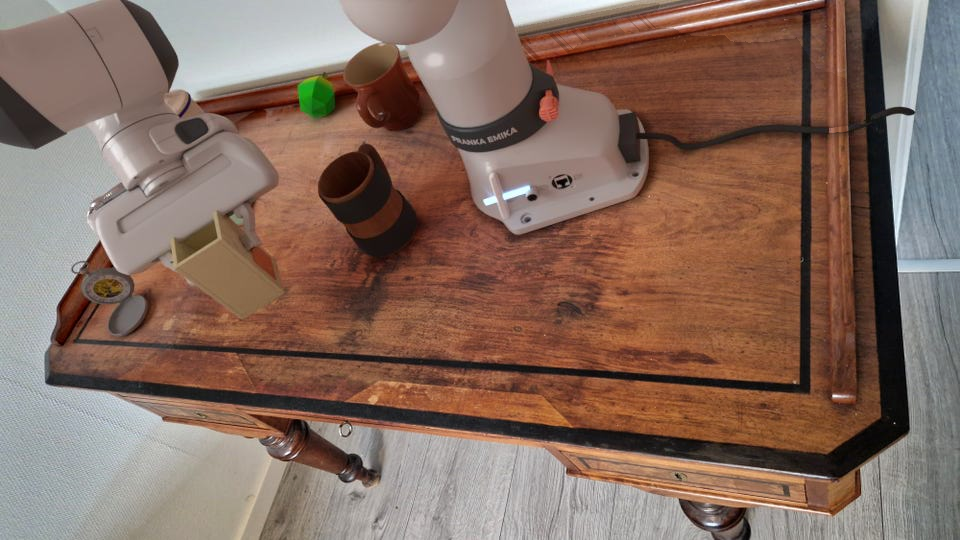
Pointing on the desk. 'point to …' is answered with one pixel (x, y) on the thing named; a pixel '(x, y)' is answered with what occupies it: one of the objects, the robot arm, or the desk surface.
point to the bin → (228, 267)
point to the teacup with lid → (182, 103)
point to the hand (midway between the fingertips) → (228, 265)
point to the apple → (316, 96)
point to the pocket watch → (114, 297)
